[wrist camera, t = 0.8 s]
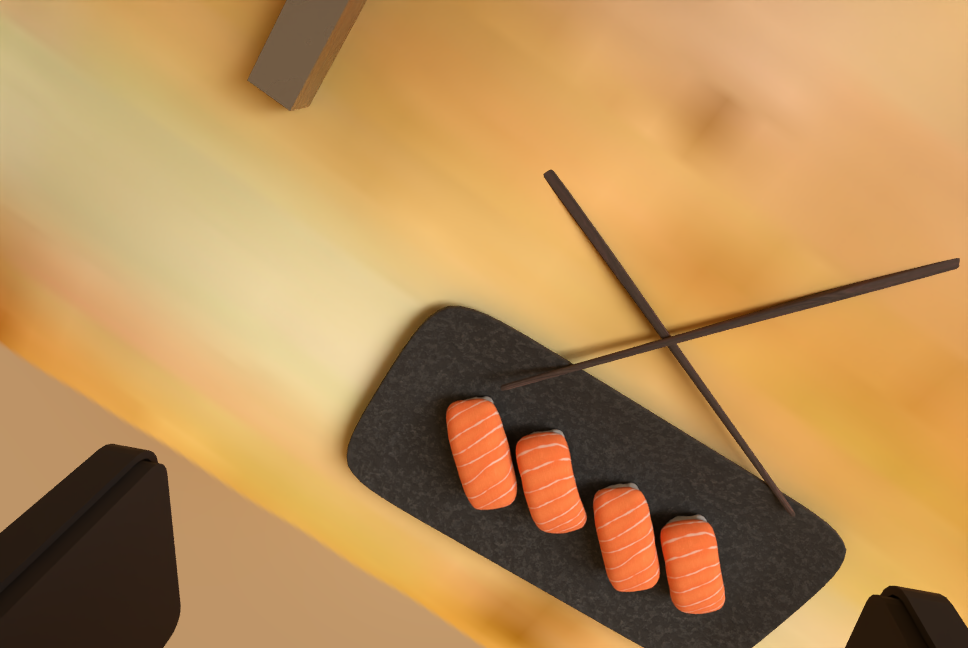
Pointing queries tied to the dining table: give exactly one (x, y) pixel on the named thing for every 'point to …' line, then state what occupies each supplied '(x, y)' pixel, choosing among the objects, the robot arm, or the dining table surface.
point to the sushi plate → (595, 477)
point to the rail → (303, 49)
